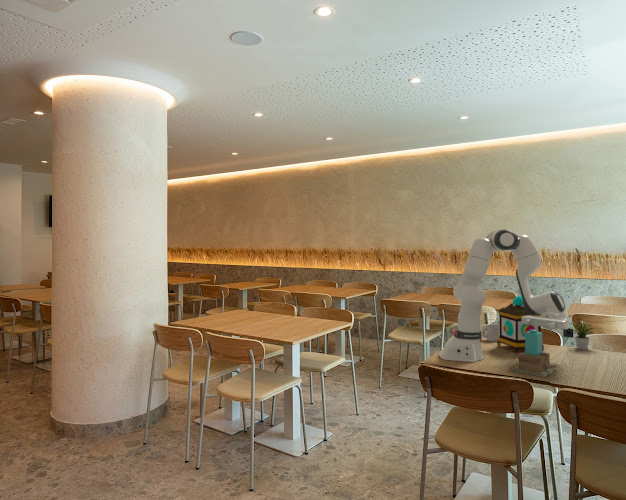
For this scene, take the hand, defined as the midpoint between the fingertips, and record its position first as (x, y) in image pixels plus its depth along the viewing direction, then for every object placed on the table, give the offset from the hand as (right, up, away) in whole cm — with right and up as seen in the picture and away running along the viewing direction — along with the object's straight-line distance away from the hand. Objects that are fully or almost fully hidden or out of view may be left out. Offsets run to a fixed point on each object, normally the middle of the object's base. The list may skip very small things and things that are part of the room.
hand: (537, 324), depth 212 cm
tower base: (-3, -21, -3) cm, 22 cm away
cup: (+1, -20, +59) cm, 63 cm away
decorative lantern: (+9, -20, +38) cm, 44 cm away
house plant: (+42, -20, +35) cm, 58 cm away
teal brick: (-3, -13, -3) cm, 14 cm away
